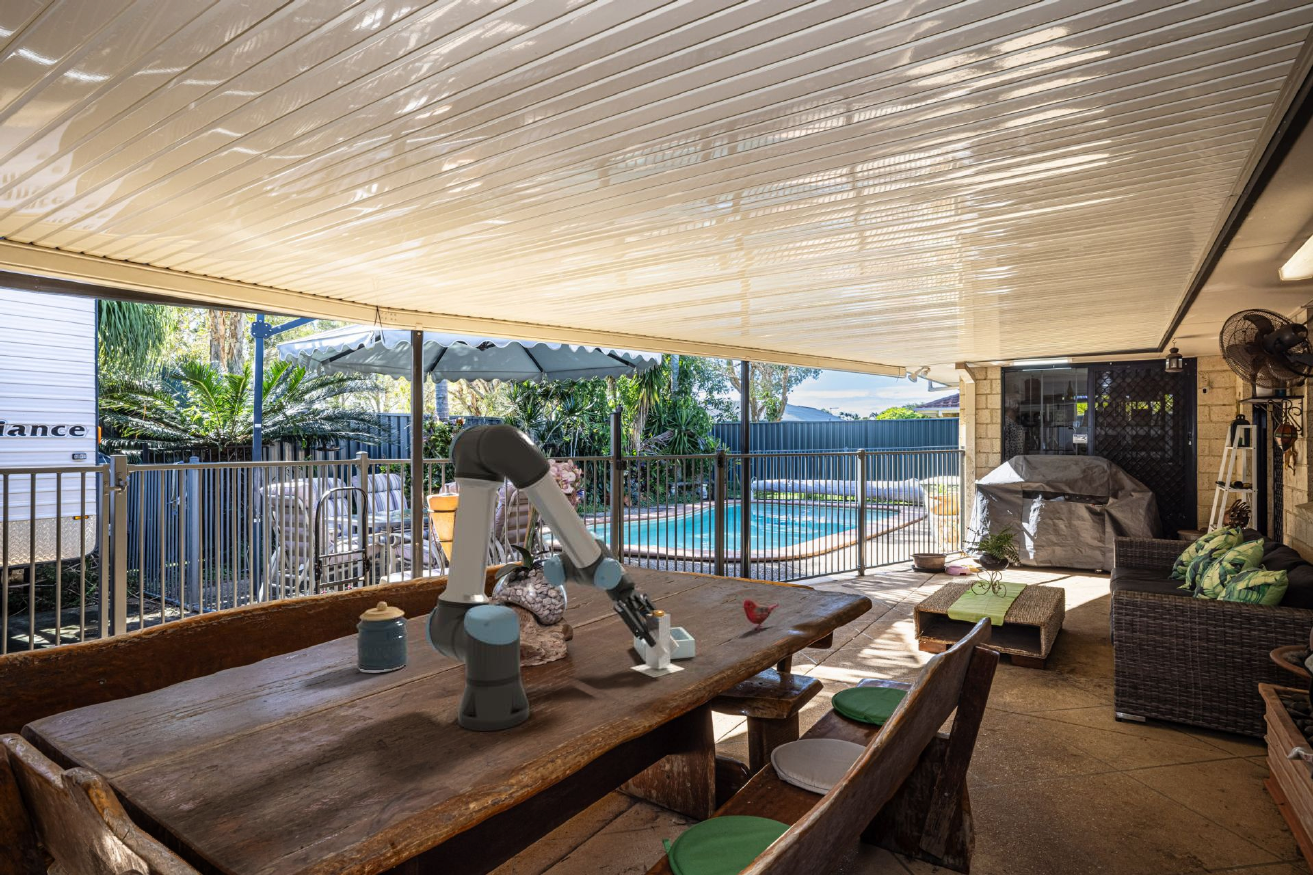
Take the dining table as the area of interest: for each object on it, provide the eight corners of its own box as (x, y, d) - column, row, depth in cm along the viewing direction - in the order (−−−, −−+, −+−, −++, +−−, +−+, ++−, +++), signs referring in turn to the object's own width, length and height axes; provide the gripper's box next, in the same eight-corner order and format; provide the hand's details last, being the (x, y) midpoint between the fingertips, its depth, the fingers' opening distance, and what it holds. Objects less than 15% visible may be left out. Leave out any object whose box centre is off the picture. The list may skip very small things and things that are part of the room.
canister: (364, 677, 188) (363, 609, 188) (351, 665, 198) (350, 601, 198) (414, 667, 195) (413, 602, 195) (400, 656, 206) (399, 594, 206)
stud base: (654, 683, 179) (653, 660, 179) (630, 673, 187) (629, 652, 187) (685, 674, 185) (684, 653, 185) (660, 665, 193) (660, 644, 193)
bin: (644, 666, 192) (643, 643, 192) (634, 651, 206) (633, 630, 206) (695, 662, 196) (694, 639, 196) (681, 647, 209) (681, 627, 209)
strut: (658, 669, 183) (659, 614, 183) (645, 665, 186) (646, 611, 186) (670, 665, 186) (670, 611, 186) (657, 661, 189) (657, 608, 189)
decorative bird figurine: (739, 632, 225) (739, 599, 225) (775, 621, 237) (775, 591, 237) (746, 633, 223) (746, 601, 223) (782, 623, 235) (782, 592, 235)
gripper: (626, 585, 202) (678, 652, 193) (587, 597, 187) (641, 671, 178) (642, 567, 199) (696, 635, 190) (603, 578, 184) (659, 652, 175)
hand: (669, 652), depth 184 cm, fingers closed on strut, 5 cm apart
